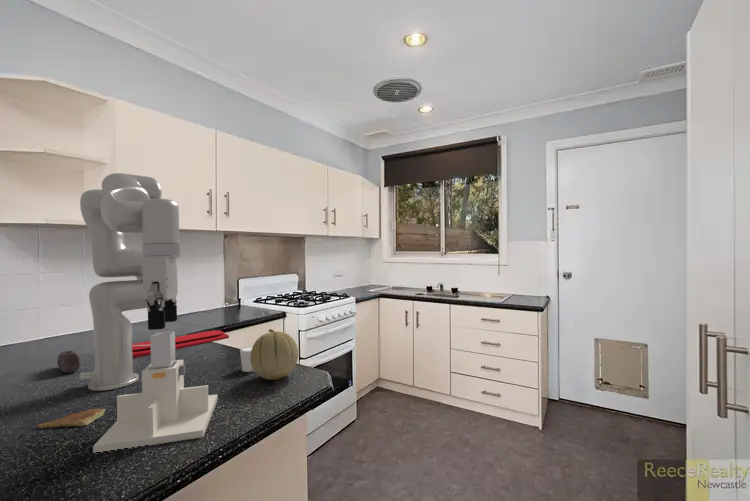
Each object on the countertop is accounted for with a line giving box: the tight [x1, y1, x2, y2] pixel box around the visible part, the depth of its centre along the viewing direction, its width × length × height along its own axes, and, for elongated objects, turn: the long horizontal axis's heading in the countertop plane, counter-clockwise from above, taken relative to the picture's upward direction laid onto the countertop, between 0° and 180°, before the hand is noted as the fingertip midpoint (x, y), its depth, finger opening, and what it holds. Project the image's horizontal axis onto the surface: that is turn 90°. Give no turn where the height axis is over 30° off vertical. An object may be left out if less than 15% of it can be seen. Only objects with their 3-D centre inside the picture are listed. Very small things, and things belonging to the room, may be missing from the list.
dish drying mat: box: [132, 330, 230, 359], centre depth 154 cm, size 16×41×4 cm, turn 140°
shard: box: [36, 408, 106, 429], centre depth 85 cm, size 11×8×2 cm
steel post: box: [149, 330, 176, 369], centre depth 82 cm, size 4×4×18 cm
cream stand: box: [92, 359, 219, 454], centre depth 82 cm, size 20×20×14 cm
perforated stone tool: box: [56, 350, 81, 374], centre depth 123 cm, size 15×5×7 cm, turn 49°
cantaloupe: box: [250, 328, 299, 381], centre depth 110 cm, size 15×15×15 cm
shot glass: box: [239, 345, 255, 373], centre depth 120 cm, size 7×7×7 cm
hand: (163, 325), depth 82 cm, fingers open, 9 cm apart
